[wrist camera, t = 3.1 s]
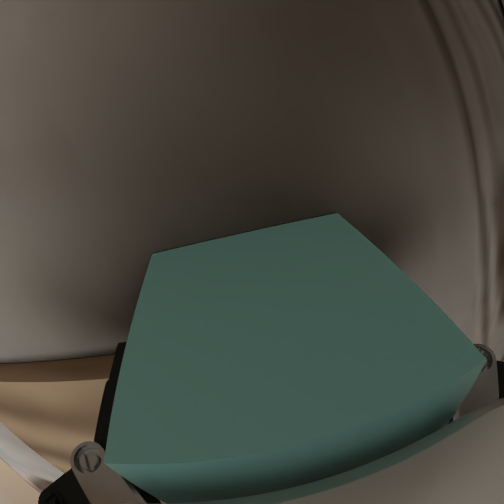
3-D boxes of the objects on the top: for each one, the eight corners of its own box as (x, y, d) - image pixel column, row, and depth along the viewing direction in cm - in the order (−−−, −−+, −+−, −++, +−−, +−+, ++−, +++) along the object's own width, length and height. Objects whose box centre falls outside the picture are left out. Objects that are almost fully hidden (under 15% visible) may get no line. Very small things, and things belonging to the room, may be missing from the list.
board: (-31, 364, 11) (-39, 379, 10) (133, 351, 12) (128, 376, 11) (95, 480, 20) (94, 491, 18) (226, 478, 20) (228, 492, 19)
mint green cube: (152, 253, 10) (104, 462, 3) (337, 212, 10) (486, 359, 4) (202, 376, 13) (215, 526, 7) (339, 343, 14) (405, 476, 7)
